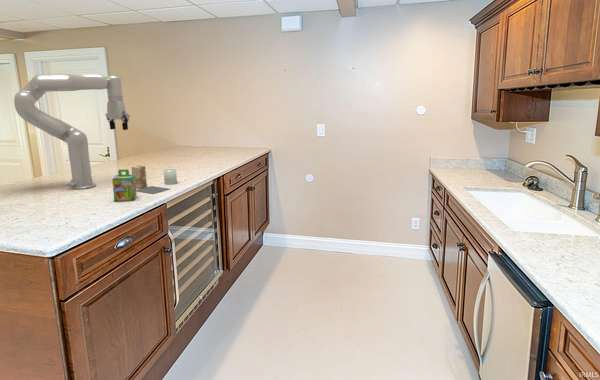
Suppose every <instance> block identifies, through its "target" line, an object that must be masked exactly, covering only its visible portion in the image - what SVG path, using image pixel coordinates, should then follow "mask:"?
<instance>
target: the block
mask: <svg viewBox="0 0 600 380" xmlns="http://www.w3.org/2000/svg"><path fill="white" fill-rule="evenodd" d="M146 170H147V169H146V166H145V165H136V166H135V165H134V166H131V175H135V181H136V190H138V189H142V188H146V187H148V183H147V171H146Z"/></svg>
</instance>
